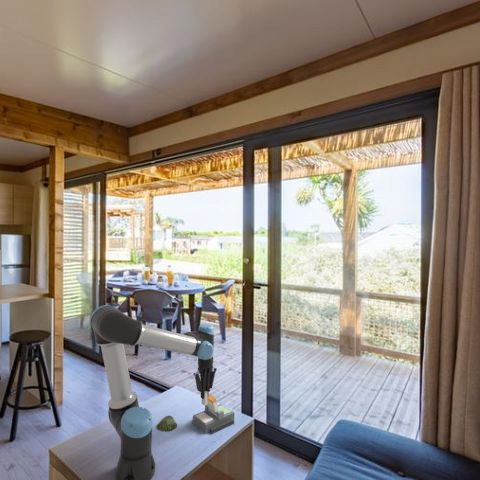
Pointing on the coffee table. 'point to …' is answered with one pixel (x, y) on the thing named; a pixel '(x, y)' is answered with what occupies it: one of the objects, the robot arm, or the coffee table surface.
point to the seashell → (167, 424)
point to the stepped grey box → (212, 418)
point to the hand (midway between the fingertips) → (204, 403)
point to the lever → (212, 404)
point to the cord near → (221, 426)
